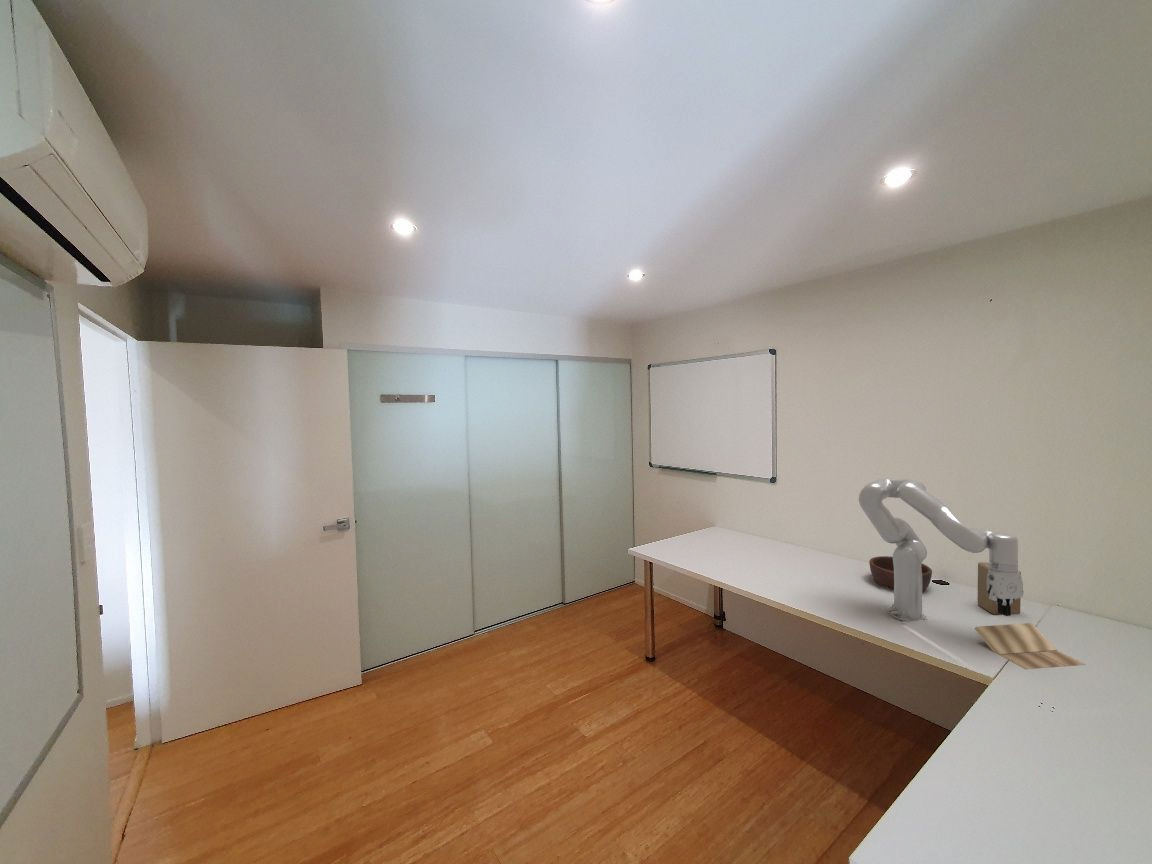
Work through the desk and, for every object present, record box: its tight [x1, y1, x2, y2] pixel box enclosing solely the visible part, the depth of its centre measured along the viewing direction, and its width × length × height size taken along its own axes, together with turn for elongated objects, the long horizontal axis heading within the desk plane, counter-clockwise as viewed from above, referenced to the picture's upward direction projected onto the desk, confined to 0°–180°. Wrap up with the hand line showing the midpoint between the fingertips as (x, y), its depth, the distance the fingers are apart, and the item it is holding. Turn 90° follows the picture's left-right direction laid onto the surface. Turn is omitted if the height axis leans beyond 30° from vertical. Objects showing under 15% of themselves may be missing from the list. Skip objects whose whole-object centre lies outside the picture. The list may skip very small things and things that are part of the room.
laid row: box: [1000, 650, 1087, 670], centre depth 144 cm, size 22×8×1 cm, turn 93°
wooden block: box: [977, 561, 1022, 616], centre depth 180 cm, size 10×10×20 cm
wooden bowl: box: [868, 555, 933, 592], centre depth 209 cm, size 25×25×10 cm
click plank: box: [974, 622, 1058, 656], centre depth 153 cm, size 22×10×1 cm
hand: (1004, 614), depth 156 cm, fingers closed
